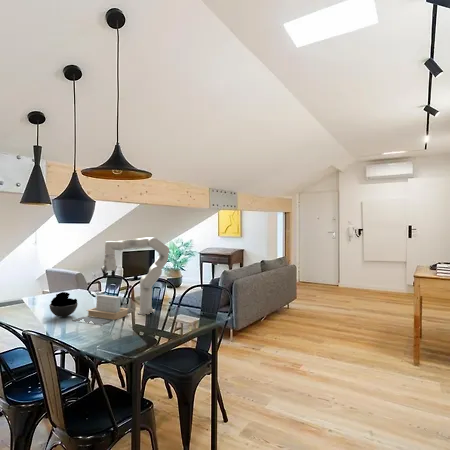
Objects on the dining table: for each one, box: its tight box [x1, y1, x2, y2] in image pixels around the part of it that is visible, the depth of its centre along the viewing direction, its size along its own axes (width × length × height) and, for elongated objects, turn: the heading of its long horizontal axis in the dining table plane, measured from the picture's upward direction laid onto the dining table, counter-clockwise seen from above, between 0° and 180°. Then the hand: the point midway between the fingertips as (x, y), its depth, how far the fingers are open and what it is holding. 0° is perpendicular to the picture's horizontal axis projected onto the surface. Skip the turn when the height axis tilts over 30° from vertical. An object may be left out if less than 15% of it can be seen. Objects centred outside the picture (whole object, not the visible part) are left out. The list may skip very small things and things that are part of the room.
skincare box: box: [95, 294, 122, 313], centre depth 270 cm, size 21×6×16 cm, turn 65°
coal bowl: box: [49, 291, 79, 318], centre depth 264 cm, size 20×20×19 cm
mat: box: [72, 316, 112, 325], centre depth 253 cm, size 27×11×1 cm, turn 69°
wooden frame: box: [86, 307, 129, 321], centre depth 270 cm, size 27×19×5 cm
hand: (109, 277), depth 271 cm, fingers open, 9 cm apart
